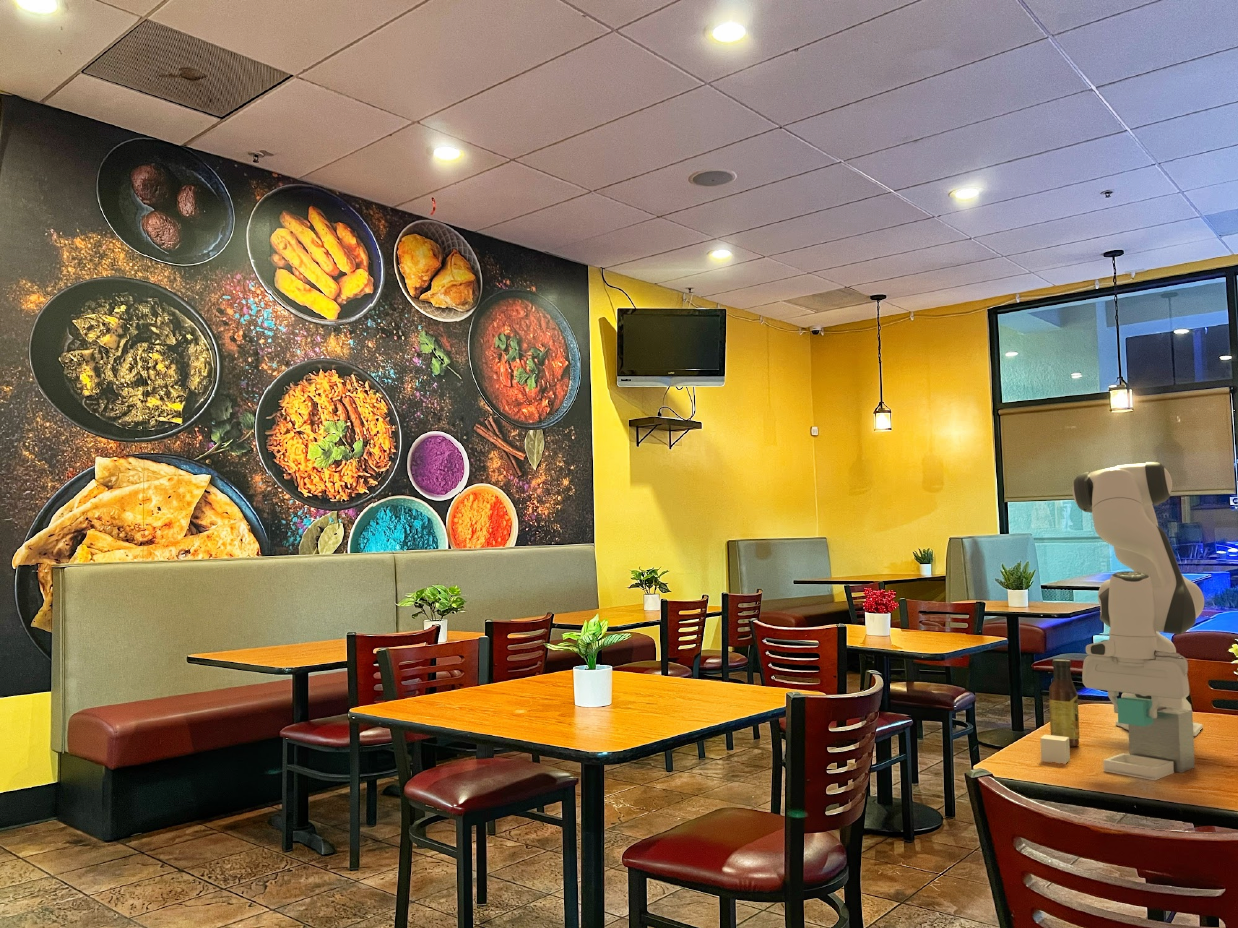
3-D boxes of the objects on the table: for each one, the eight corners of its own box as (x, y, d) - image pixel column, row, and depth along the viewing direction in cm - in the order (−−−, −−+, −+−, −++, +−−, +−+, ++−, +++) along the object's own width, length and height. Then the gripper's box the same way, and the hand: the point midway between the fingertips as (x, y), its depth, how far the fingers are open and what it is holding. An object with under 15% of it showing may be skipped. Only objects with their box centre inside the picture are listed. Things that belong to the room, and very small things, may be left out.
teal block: (1118, 722, 198) (1117, 698, 198) (1128, 720, 201) (1127, 696, 201) (1143, 726, 194) (1142, 701, 194) (1153, 723, 197) (1152, 699, 197)
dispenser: (1145, 758, 209) (1143, 702, 210) (1195, 766, 201) (1192, 709, 202) (1130, 764, 203) (1127, 706, 204) (1180, 772, 196) (1178, 713, 197)
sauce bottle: (1083, 748, 219) (1080, 662, 221) (1054, 746, 220) (1051, 661, 222) (1075, 742, 225) (1072, 658, 227) (1047, 741, 227) (1045, 657, 228)
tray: (1123, 763, 204) (1122, 753, 204) (1173, 772, 196) (1173, 761, 196) (1103, 770, 197) (1103, 759, 197) (1155, 780, 190) (1154, 768, 190)
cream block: (1045, 757, 210) (1044, 734, 211) (1069, 760, 207) (1069, 737, 208) (1041, 761, 206) (1040, 738, 206) (1065, 764, 203) (1065, 740, 204)
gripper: (1193, 652, 193) (1195, 721, 192) (1090, 643, 208) (1092, 707, 207) (1181, 654, 189) (1184, 724, 188) (1078, 645, 204) (1079, 710, 203)
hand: (1135, 715), depth 197 cm, fingers closed on teal block, 5 cm apart
